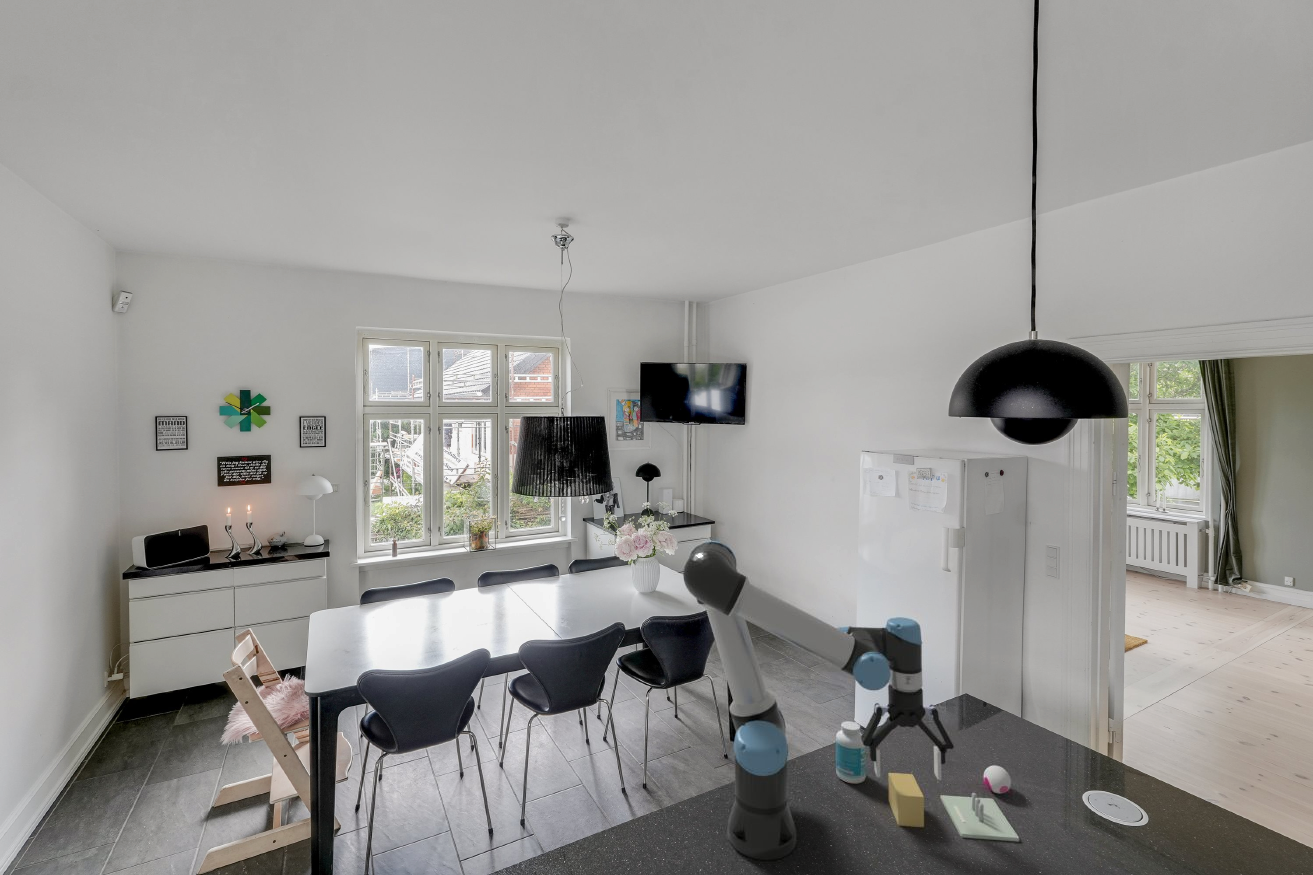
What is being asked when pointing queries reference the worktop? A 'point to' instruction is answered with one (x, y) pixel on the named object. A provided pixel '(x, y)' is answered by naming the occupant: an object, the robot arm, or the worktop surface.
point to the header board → (978, 818)
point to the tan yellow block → (906, 800)
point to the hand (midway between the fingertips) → (907, 775)
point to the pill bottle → (850, 753)
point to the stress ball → (997, 779)
